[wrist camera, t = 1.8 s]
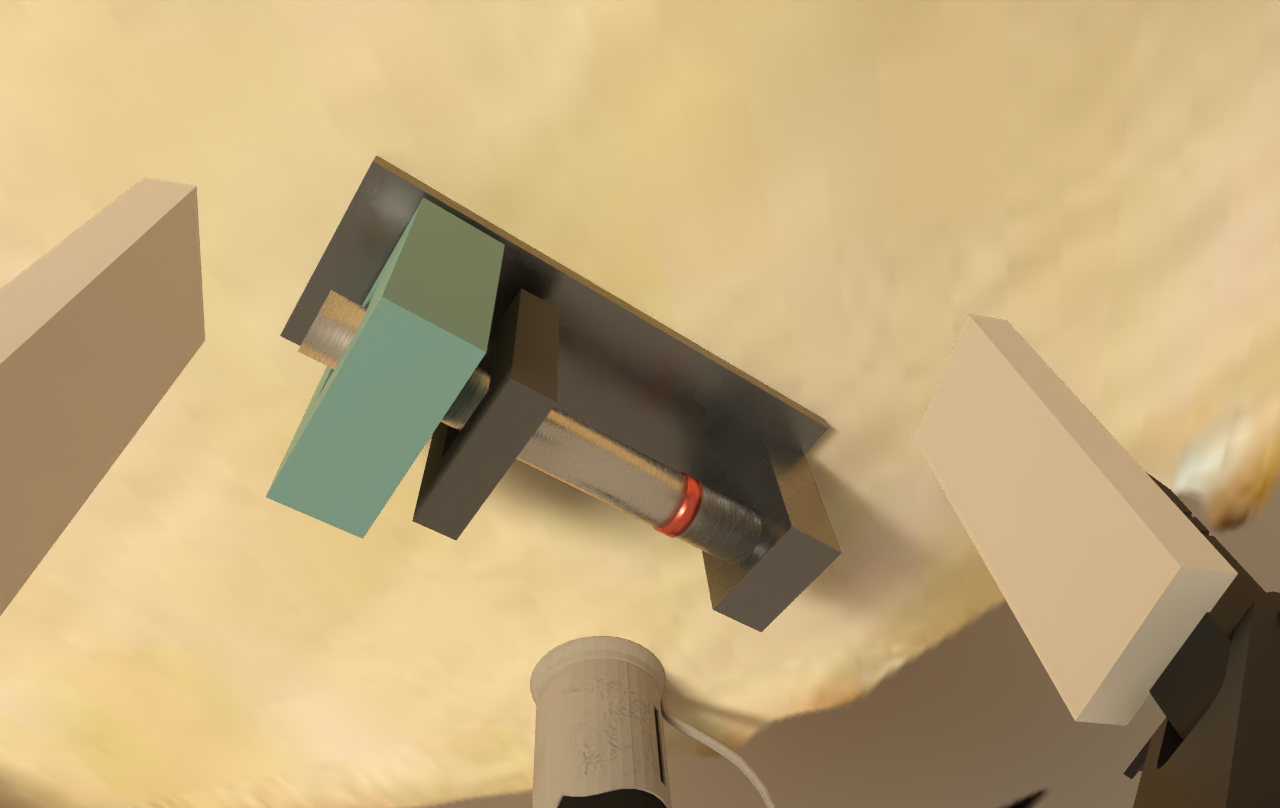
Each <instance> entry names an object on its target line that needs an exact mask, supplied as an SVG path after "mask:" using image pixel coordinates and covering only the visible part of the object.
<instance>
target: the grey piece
mask: <svg viewBox="0 0 1280 808" xmlns="http://www.w3.org/2000/svg"><path fill="white" fill-rule="evenodd" d="M423 198H425V199H427V200H429V201H431V202H432V203H434V204H436V205H437V206H439V207H441V208H443V209H444V210H446V211H448V212H449V213H451V214H453V215H455V216H456V217H458V218H460V219H461V220H463V221H465V222H467V223H468V224H470V225H472V226H473V227H475V228H477V229H479V230H480V231H482V232H484V233H485V234H487V235H489V236H491V237H492V238H494V239H496V240H497V241H499V242H501V243H503V244H504V245H505V246H504V252H503V258H502V264H501V270H500V276H499V281H498V287H497V293H496V299H495V305H494V311H493V317H492V323H491V329H490V335H491V333H492V332H493V330H494V329H495V327H496V326H497V324H498V323H499V321H500V320H501V318H502V317H503V315H504V314H505V312H506V311H507V309H508V308H509V306H510V305H511V303H512V301H513V300H514V298H515V297H516V295H517V294H518V292H519V291H520V289H521V288H522V289H524V290H526V291H528V292H529V293H531V294H533V295H535V296H536V297H538V298H540V299H542V300H543V301H545V302H547V303H549V304H550V305H552V306H554V307H556V308H557V309H559V310H560V311H559V346H558V382H557V403H556V404H555V406H554V407H553V409H552V410H551V411H550V413H549V414H548V415H547V417H546V418H545V419H544V421H543V422H542V424H541V425H540V426H539V428H538V429H537V430H536V432H535V433H534V435H533V436H532V437H531V439H530V440H529V441H528V443H527V444H526V446H525V447H524V448H523V450H522V451H521V452H520V454H519V455H518V456H517V458H516V459H518V460H520V461H522V462H524V463H526V464H528V465H530V466H532V467H534V468H536V469H538V470H540V471H542V472H544V473H546V474H548V475H550V476H552V477H554V478H556V479H558V480H560V481H562V482H564V483H567V484H569V485H571V486H573V487H575V488H577V489H579V490H581V491H583V492H585V493H587V494H589V495H591V496H593V497H595V498H597V499H599V500H601V501H603V502H605V503H607V504H609V505H611V506H613V507H615V508H617V509H619V510H621V511H623V512H625V513H628V514H630V515H632V516H634V517H636V518H638V519H640V520H642V521H644V522H646V523H648V524H650V525H652V526H653V527H654V529H655V530H657V531H659V532H661V533H663V534H665V535H667V536H669V537H676V538H678V539H680V540H682V541H684V542H686V543H689V544H691V545H693V546H695V547H697V548H699V549H701V550H702V553H703V559H704V564H705V570H706V575H707V580H708V586H709V591H710V597H711V602H712V608H713V610H715V611H717V612H719V613H721V614H723V615H725V616H728V617H730V618H732V619H734V620H736V621H738V622H741V623H743V624H745V625H747V626H749V627H751V628H753V629H756V630H758V631H760V632H762V631H763V630H764V629H765V628H766V627H767V626H768V625H769V624H770V623H771V622H772V621H773V620H774V619H775V618H776V617H777V616H778V615H779V614H780V613H781V612H782V611H783V610H784V609H785V608H786V607H787V606H788V605H789V604H790V603H791V602H792V601H793V600H794V599H795V598H796V597H797V596H798V595H799V594H800V593H801V592H802V591H803V590H804V589H806V588H807V587H808V586H809V585H810V584H811V583H812V582H813V581H814V580H815V579H816V578H817V577H818V576H819V575H820V574H821V573H822V572H823V571H824V570H825V569H826V568H827V567H828V566H829V565H830V564H831V563H832V562H833V561H834V560H835V559H836V558H837V557H838V556H839V555H840V554H841V550H840V548H839V545H838V542H837V540H836V537H835V534H834V532H833V529H832V527H831V524H830V521H829V519H828V516H827V513H826V511H825V508H824V505H823V503H822V500H821V498H820V495H819V492H818V490H817V487H816V484H815V482H814V479H813V476H812V474H811V471H810V469H809V466H808V463H807V461H806V458H805V455H804V454H805V453H806V452H807V451H808V450H809V448H810V447H811V446H812V445H813V444H814V443H815V442H816V441H817V440H818V439H819V438H820V436H821V435H822V434H823V433H824V432H825V431H826V430H827V429H828V426H827V424H826V422H825V420H824V419H822V418H821V417H819V416H817V415H816V414H814V413H812V412H810V411H809V410H807V409H805V408H804V407H802V406H800V405H799V404H797V403H795V402H794V401H792V400H790V399H788V398H787V397H785V396H783V395H782V394H780V393H778V392H777V391H775V390H773V389H771V388H770V387H768V386H766V385H765V384H763V383H761V382H760V381H758V380H756V379H755V378H753V377H751V376H749V375H748V374H746V373H744V372H743V371H741V370H739V369H738V368H736V367H734V366H732V365H731V364H729V363H727V362H726V361H724V360H722V359H721V358H719V357H717V356H716V355H714V354H712V353H710V352H709V351H707V350H705V349H704V348H702V347H700V346H699V345H697V344H695V343H693V342H692V341H690V340H688V339H687V338H685V337H683V336H682V335H680V334H678V333H676V332H675V331H673V330H671V329H670V328H668V327H666V326H665V325H663V324H661V323H660V322H658V321H656V320H654V319H653V318H651V317H649V316H648V315H646V314H644V313H643V312H641V311H639V310H637V309H636V308H634V307H632V306H631V305H629V304H627V303H626V302H624V301H622V300H621V299H619V298H617V297H615V296H614V295H612V294H610V293H609V292H607V291H605V290H604V289H602V288H600V287H598V286H597V285H595V284H593V283H592V282H590V281H588V280H587V279H585V278H583V277H582V276H580V275H578V274H576V273H575V272H573V271H571V270H570V269H568V268H566V267H565V266H563V265H561V264H559V263H558V262H556V261H554V260H553V259H551V258H549V257H548V256H546V255H544V254H543V253H541V252H539V251H537V250H536V249H534V248H532V247H531V246H529V245H527V244H526V243H524V242H522V241H520V240H519V239H517V238H515V237H514V236H512V235H510V234H509V233H507V232H505V231H503V230H502V229H500V228H498V227H497V226H495V225H493V224H492V223H490V222H488V221H487V220H485V219H483V218H481V217H480V216H478V215H476V214H475V213H473V212H471V211H470V210H468V209H466V208H464V207H463V206H461V205H459V204H458V203H456V202H454V201H453V200H451V199H449V198H448V197H446V196H444V195H442V194H441V193H439V192H437V191H436V190H434V189H432V188H431V187H429V186H427V185H425V184H424V183H422V182H420V181H419V180H417V179H415V178H414V177H412V176H410V175H409V174H407V173H405V172H403V171H402V170H400V169H398V168H397V167H395V166H393V165H392V164H390V163H388V162H386V161H385V160H383V159H381V158H380V157H378V156H376V157H375V159H374V160H373V162H372V164H371V166H370V168H369V170H368V172H367V173H366V175H365V177H364V179H363V181H362V183H361V185H360V187H359V188H358V190H357V192H356V194H355V196H354V198H353V200H352V202H351V204H350V205H349V207H348V209H347V211H346V213H345V215H344V217H343V219H342V220H341V222H340V224H339V226H338V228H337V230H336V232H335V234H334V235H333V237H332V239H331V241H330V243H329V245H328V247H327V249H326V251H325V252H324V254H323V256H322V258H321V260H320V262H319V264H318V266H317V267H316V269H315V271H314V273H313V275H312V277H311V279H310V281H309V283H308V284H307V286H306V288H305V290H304V292H303V294H302V296H301V298H300V299H299V301H298V303H297V305H296V307H295V309H294V311H293V313H292V315H291V316H290V318H289V320H288V322H287V324H286V326H285V328H284V330H283V331H282V333H281V335H280V336H282V337H284V338H286V339H288V340H290V341H292V342H294V343H296V344H298V345H300V348H299V350H298V352H300V353H302V354H304V355H306V356H308V357H310V358H312V359H314V360H316V361H318V362H320V363H322V364H325V365H327V366H329V367H331V368H333V369H335V368H336V366H337V364H338V362H339V361H340V359H341V357H342V355H343V354H344V352H345V350H346V348H347V347H348V345H349V343H350V342H351V340H352V338H353V336H354V335H355V333H356V331H357V329H358V328H359V326H360V324H361V322H362V320H363V318H364V315H365V313H366V311H367V308H365V307H363V306H362V304H363V303H364V301H365V299H366V297H367V296H368V294H369V292H370V290H371V289H372V287H373V285H374V283H375V282H376V280H377V278H378V276H379V275H380V273H381V271H382V269H383V268H384V266H385V264H386V262H387V261H388V259H389V257H390V255H391V254H392V252H393V250H394V248H395V247H396V245H397V243H398V241H399V240H400V238H401V236H402V234H403V233H404V231H405V229H406V227H407V226H408V224H409V222H410V220H411V219H412V217H413V215H414V213H415V212H416V210H417V208H418V206H419V205H420V203H421V201H422V199H423ZM490 335H489V336H490ZM490 378H491V373H489V372H487V371H485V370H483V369H481V368H479V367H476V369H475V370H474V372H473V373H472V375H471V376H470V378H469V379H468V381H467V382H466V384H465V386H464V387H463V389H462V390H461V392H460V393H459V395H458V396H457V398H456V399H455V401H454V402H453V404H452V405H451V407H450V408H449V410H448V411H447V413H446V414H445V416H444V417H443V419H442V420H441V422H442V423H445V424H447V425H449V426H451V427H453V428H455V429H457V430H459V431H461V429H462V428H463V427H464V425H465V424H466V422H467V421H468V419H469V418H470V416H471V415H472V413H473V412H474V410H475V409H476V407H477V406H478V405H479V403H480V402H481V400H482V399H483V397H484V396H485V394H486V393H487V391H488V390H489V385H490Z"/></svg>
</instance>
